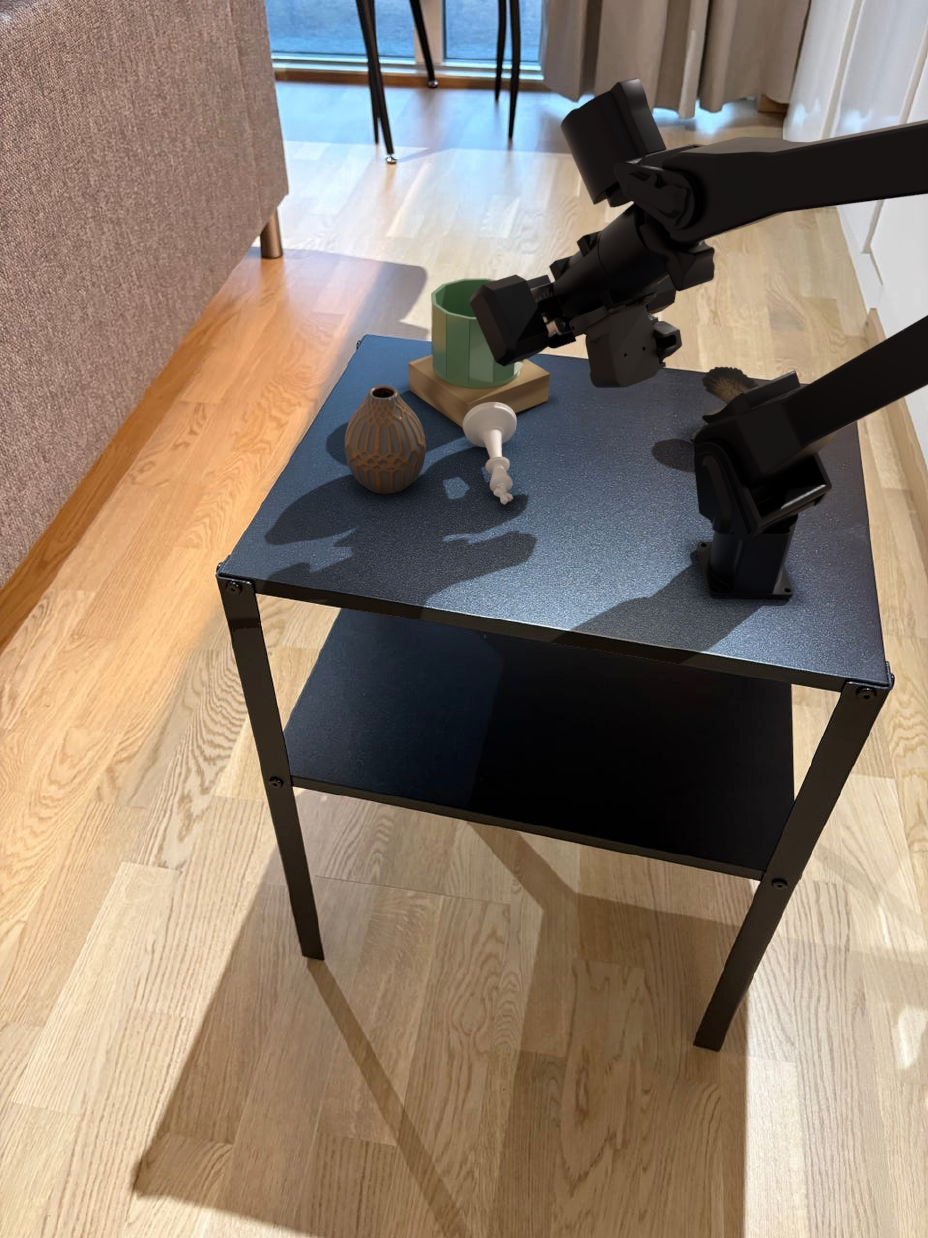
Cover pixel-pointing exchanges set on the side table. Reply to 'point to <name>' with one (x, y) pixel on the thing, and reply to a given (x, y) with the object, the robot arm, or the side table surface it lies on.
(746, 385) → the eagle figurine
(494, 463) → the chess piece
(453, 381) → the cup
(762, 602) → the side table surface
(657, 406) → the side table surface
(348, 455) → the vase
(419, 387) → the block
